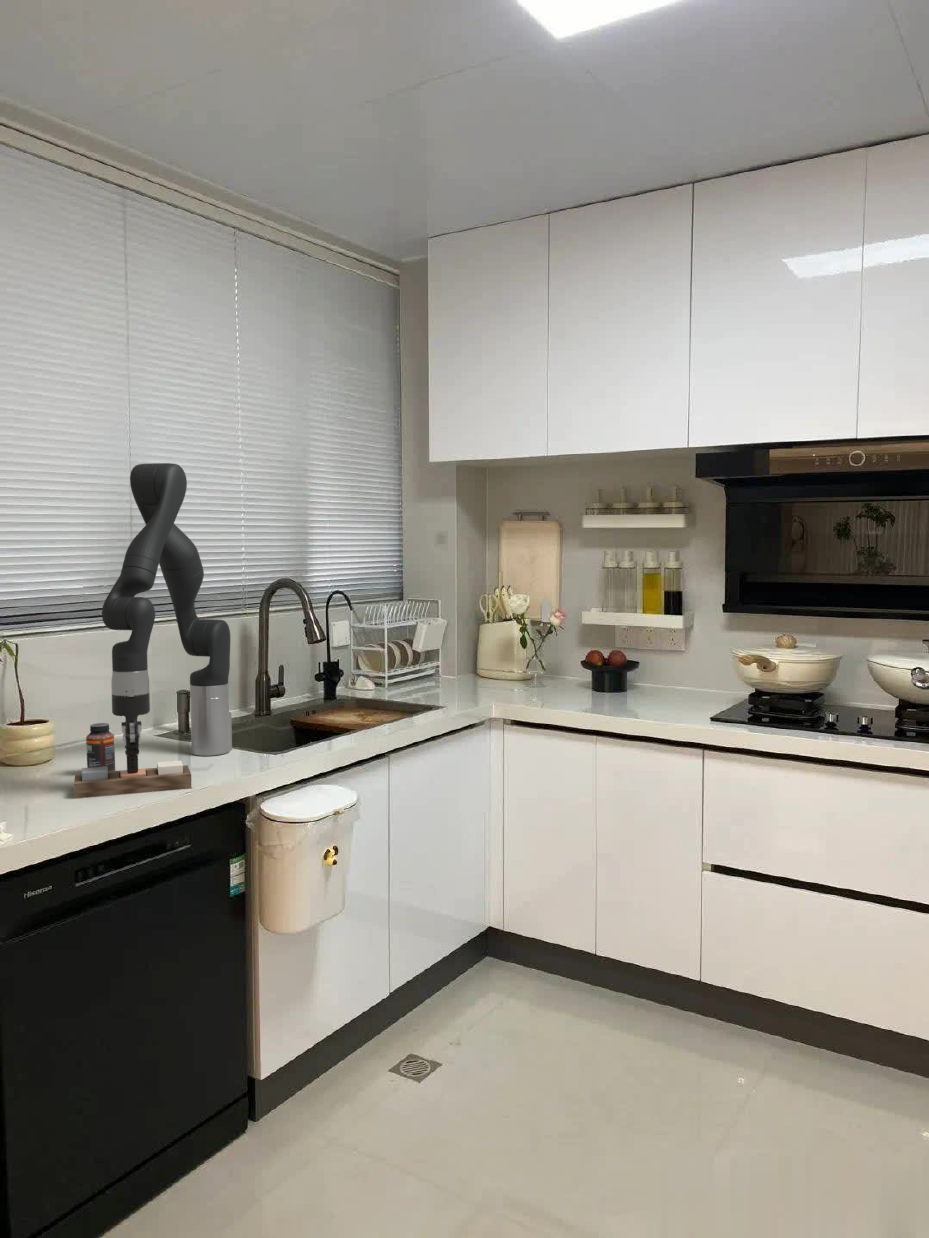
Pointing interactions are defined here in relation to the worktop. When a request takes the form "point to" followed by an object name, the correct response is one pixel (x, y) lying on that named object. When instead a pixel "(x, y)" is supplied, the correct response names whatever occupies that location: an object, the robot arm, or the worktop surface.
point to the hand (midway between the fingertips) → (132, 772)
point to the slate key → (95, 773)
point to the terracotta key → (140, 773)
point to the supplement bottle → (100, 747)
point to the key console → (131, 783)
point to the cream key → (169, 767)
